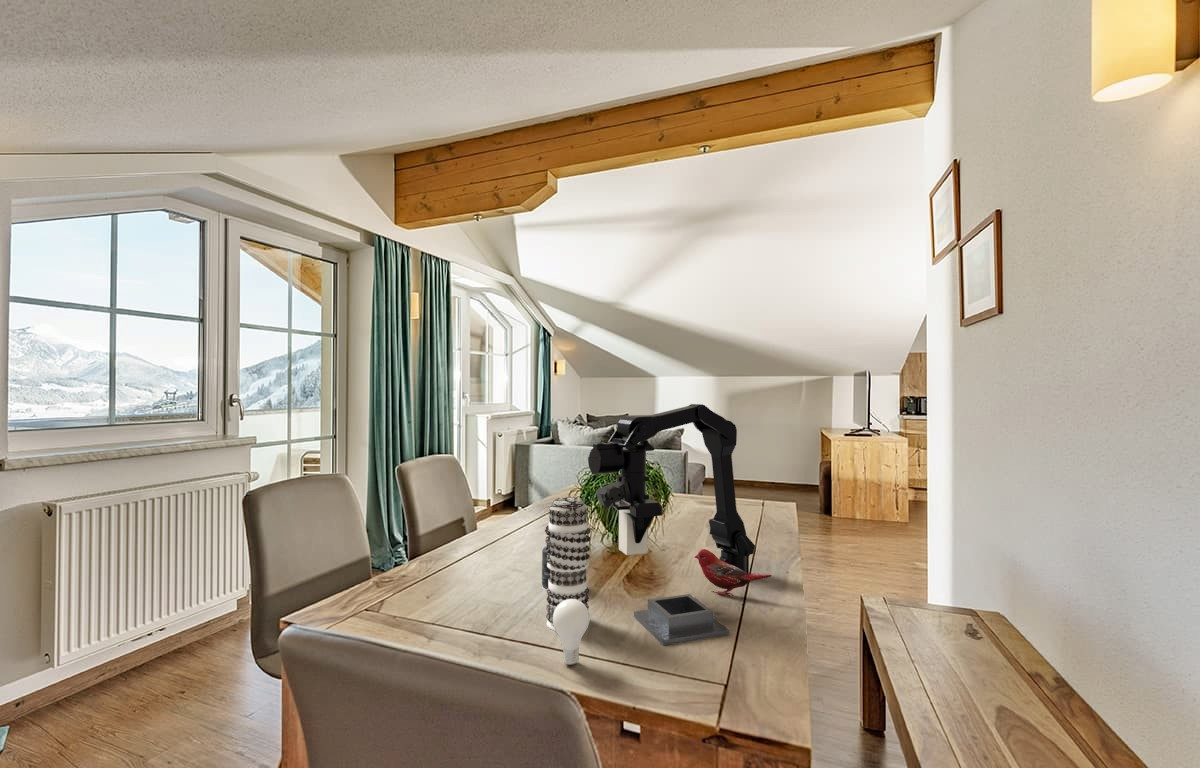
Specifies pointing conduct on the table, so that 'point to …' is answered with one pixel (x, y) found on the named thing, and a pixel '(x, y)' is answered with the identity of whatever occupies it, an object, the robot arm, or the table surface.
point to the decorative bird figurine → (724, 573)
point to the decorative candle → (567, 553)
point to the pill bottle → (545, 568)
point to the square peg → (630, 536)
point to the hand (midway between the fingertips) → (633, 539)
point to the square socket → (679, 620)
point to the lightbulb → (571, 627)
